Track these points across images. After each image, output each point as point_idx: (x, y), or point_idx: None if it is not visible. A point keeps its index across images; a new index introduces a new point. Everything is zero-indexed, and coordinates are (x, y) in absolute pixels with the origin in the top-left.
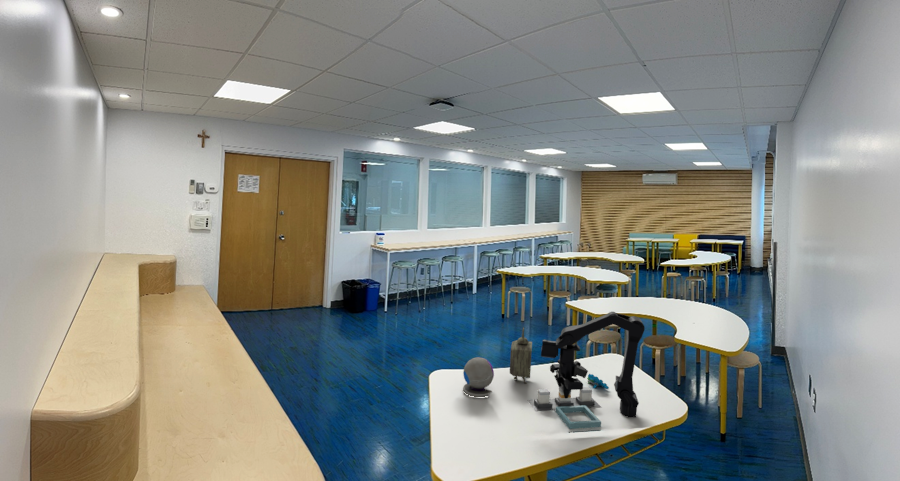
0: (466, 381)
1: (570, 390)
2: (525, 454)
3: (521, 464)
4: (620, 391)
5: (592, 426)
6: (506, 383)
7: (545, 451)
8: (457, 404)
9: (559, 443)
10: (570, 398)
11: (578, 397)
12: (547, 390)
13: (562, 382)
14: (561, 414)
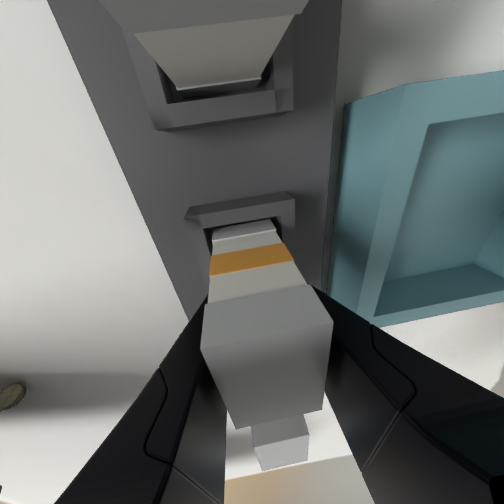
0: None
1: (397, 346)
2: (475, 369)
3: (496, 374)
4: None
5: None
6: (39, 428)
7: (497, 338)
8: (241, 463)
9: (496, 305)
10: (279, 238)
11: (162, 91)
12: (281, 444)
13: (201, 498)
14: (427, 314)
